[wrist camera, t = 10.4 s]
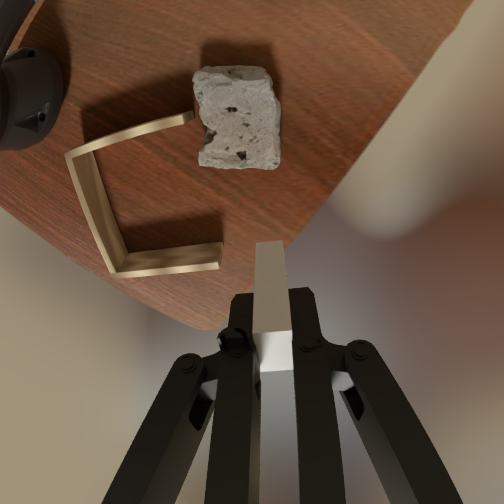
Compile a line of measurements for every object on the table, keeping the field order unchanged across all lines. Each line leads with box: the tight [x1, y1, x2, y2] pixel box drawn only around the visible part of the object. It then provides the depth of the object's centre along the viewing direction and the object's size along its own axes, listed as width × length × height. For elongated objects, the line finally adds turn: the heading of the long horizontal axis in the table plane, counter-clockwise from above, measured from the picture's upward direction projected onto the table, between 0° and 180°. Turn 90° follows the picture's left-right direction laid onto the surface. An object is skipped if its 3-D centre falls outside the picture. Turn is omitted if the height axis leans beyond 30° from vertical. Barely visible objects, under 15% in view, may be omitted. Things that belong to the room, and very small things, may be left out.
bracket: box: [64, 110, 224, 279], centre depth 34 cm, size 16×19×5 cm
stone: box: [192, 65, 281, 170], centre depth 29 cm, size 13×6×10 cm
